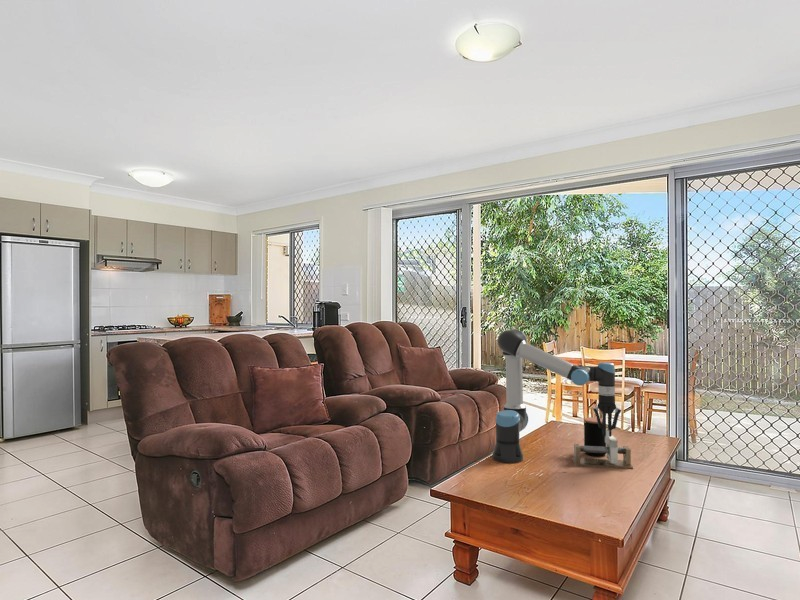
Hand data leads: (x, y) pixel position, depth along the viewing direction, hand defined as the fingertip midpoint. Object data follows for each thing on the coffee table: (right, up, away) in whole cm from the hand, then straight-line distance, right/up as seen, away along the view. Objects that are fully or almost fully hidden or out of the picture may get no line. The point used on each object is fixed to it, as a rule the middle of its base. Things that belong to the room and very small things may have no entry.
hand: (607, 442), depth 248 cm
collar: (+2, -8, 0) cm, 9 cm away
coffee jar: (+1, -11, +17) cm, 20 cm away
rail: (-2, -11, 0) cm, 11 cm away
